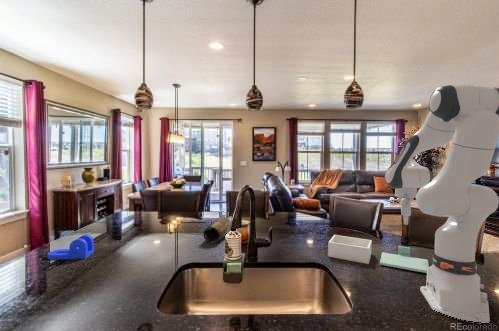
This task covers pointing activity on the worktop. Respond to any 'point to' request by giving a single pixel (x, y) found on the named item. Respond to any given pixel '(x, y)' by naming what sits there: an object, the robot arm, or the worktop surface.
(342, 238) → the tub
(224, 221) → the decorative bottle
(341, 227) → the worktop surface
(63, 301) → the worktop surface
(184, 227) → the worktop surface
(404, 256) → the lid
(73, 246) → the bracket
